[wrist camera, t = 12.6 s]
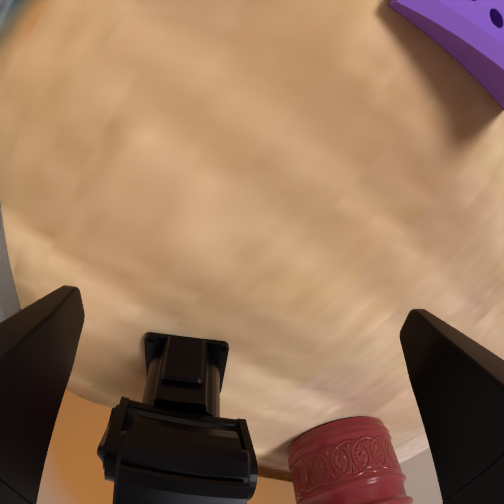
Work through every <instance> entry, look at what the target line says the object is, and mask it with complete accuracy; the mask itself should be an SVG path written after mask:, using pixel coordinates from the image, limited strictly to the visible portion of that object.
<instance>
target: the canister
mask: <svg viewBox="0 0 504 504" xmlns="http://www.w3.org/2000/svg"><path fill="white" fill-rule="evenodd" d="M288 463H289V469H290V471H291V473H292V479H293V485H294V491H295V498H296V504H412V503H413V498H411V497H409V496H407V495H406V492H405V488H404V482H405V479H406V477H405V475H404V474H403V473H402V471H401V468H400V465H399V462H398V459H397V456H396V454H395V451H394V448H393V446H392V443H391V436H390V434H389V431H388V429H387V428H386V427H385V426H384V424H383V422H382V421H381V420H379V419H377V418H373V417H352V418H346V419H341V420H337V421H334V422H330V423H327V424H324V425H322V426H319V427H317V428H315V429H312V430H310V431H309V432H307V433H305V434H303V435H302V436H300V437H299V438H298V439H297V440H295V441H294V442H293V444H292V445H291V446H290V448H289V457H288Z"/></svg>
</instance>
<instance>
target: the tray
mask: <svg viewBox="0 0 504 504" xmlns="http://www.w3.org/2000/svg"><path fill="white" fill-rule="evenodd" d="M19 311H21V309H20V305H19V301H18V298H17V294H16V290H15V286H14V281H13V277H12V273H11V268H10V263H9V258H8V253H7V247H6V241H5V235H4V229H3V222H2V214H1V205H0V323H1V322H2V321H4V320H6V319H7V318H9V317H11V316H12V315H14V314H16V313H17V312H19Z"/></svg>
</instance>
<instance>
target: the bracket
mask: <svg viewBox="0 0 504 504" xmlns="http://www.w3.org/2000/svg"><path fill="white" fill-rule="evenodd" d="M388 6H389V7H390V8H392V9H393V10H395V11H396V12H398V13H399V14H400V15H402V16H403V17H405V18H406V19H407V20H409V21H410V22H411V23H413V24H414V25H415V26H417V27H418V28H419V29H420V30H422V31H423V32H424V33H426V34H427V35H428V36H429V37H430V38H432V39H433V40H434V41H435V42H436V43H438V44H439V45H440V46H441V47H442V48H443V49H445V50H446V51H447V52H448V53H449V54H450V55H451V56H452V57H454V58H455V59H456V60H457V61H458V62H459V63H460V64H461V65H462V66H463V67H464V68H465V69H466V70H467V71H468V72H469V73H470V74H471V75H472V76H473V77H474V78H475V79H476V80H477V81H478V82H479V83H480V84H481V85H482V86H483V87H484V88H485V89H486V90H487V91H488V92H489V93H490V95H491V96H492V97H493V98H494V99H495V100H496V101H497V102H498V103H499V105H500V106H501V107H502V108H503V109H504V0H390V2H389V4H388Z"/></svg>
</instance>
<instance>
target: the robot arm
mask: <svg viewBox="0 0 504 504" xmlns="http://www.w3.org/2000/svg"><path fill="white" fill-rule="evenodd" d="M84 316H85V315H84V309H83V304H82V299H81V294H80V290H79V289H78V288H77V287H74V286H66V285H65V286H62V287H60V288H58V289H57V290H55V291H53V292H51V293H50V294H48V295H46V296H44V297H43V298H41V299H39V300H38V301H36V302H34V303H32V304H31V305H29V306H27V307H26V308H24V309H22V310H21V311H19V312H17V313H16V314H14V315H12V316H11V317H9V318H7V319H6V320H4V321H2V322H1V323H0V504H36V502H37V497H38V492H39V487H40V481H41V477H42V472H43V468H44V463H45V459H46V455H47V451H48V447H49V443H50V440H51V436H52V432H53V429H54V425H55V421H56V418H57V414H58V411H59V408H60V405H61V401H62V398H63V395H64V392H65V389H66V386H67V383H68V380H69V377H70V374H71V371H72V367H73V363H74V359H75V355H76V350H77V346H78V342H79V338H80V334H81V331H82V327H83V323H84ZM150 338H152V339H150ZM400 341H401V345H402V349H403V353H404V357H405V361H406V366H407V370H408V374H409V378H410V382H411V386H412V389H413V392H414V395H415V398H416V401H417V405H418V408H419V411H420V414H421V418H422V421H423V425H424V428H425V432H426V435H427V439H428V442H429V446H430V449H431V453H432V457H433V461H434V465H435V469H436V473H437V478H438V482H439V486H440V491H441V496H442V500H443V504H504V360H503V359H501V358H500V357H498V356H497V355H495V354H494V353H492V352H491V351H489V350H487V349H486V348H484V347H483V346H481V345H480V344H478V343H477V342H475V341H474V340H472V339H471V338H469V337H467V336H466V335H464V334H463V333H461V332H460V331H458V330H457V329H455V328H453V327H452V326H450V325H449V324H447V323H446V322H444V321H442V320H441V319H439V318H438V317H436V316H434V315H433V314H431V313H430V312H428V311H426V310H425V309H413V310H411V311H410V312H409V314H408V316H407V318H406V320H405V322H404V324H403V327H402V329H401V331H400ZM220 347H224V348H220ZM228 351H229V344H228V343H227V342H225V341H218V340H208V339H199V338H191V337H182V336H175V335H167V334H160V333H153V332H149V333H147V334H146V336H145V357H146V372H147V381H146V386H145V391H144V396H143V401H142V403H141V402H137V401H132V400H129V398H125V397H122V398H121V401H120V404H119V405H116V407H115V408H112V411H111V415H110V420H109V423H108V427H107V429H106V431H105V433H104V436H103V437H102V440H101V442H100V444H99V446H98V450H97V455H98V456H99V458H100V459H101V461H102V462H103V469H105V470H104V474H105V480H108V481H112V482H114V483H115V484H114V493H113V504H247V501H248V500H250V499H251V498H252V496H253V494H254V491H255V488H256V484H257V475H258V468H257V460H256V455H255V452H254V448H253V445H252V441H251V437H250V434H249V430H248V427H247V423H246V420H245V419H229V418H221V417H220V392H221V388H222V383H223V377H224V372H225V367H226V362H227V356H228Z"/></svg>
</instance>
